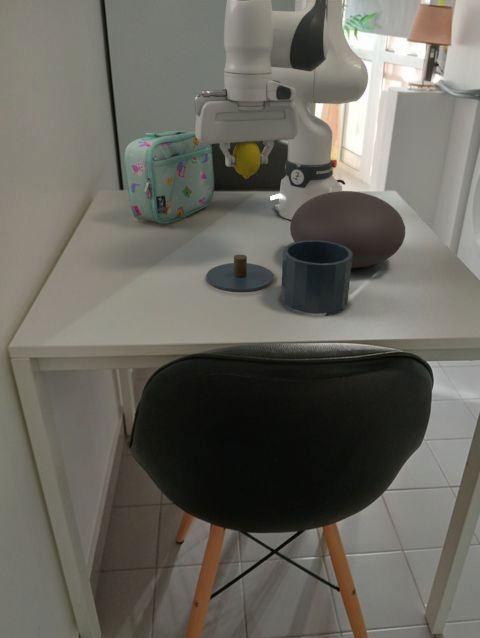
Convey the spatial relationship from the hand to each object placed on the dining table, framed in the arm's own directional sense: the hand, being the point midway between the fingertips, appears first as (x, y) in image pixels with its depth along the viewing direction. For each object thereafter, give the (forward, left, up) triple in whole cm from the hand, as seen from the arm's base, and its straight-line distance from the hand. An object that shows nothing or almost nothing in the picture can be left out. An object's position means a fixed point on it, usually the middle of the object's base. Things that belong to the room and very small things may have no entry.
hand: (246, 164), depth 120 cm
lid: (+7, +3, -21) cm, 22 cm away
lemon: (0, 0, -3) cm, 3 cm away
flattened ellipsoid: (-15, +16, -22) cm, 31 cm away
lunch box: (-19, -35, -22) cm, 45 cm away
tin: (+7, +20, -21) cm, 30 cm away
